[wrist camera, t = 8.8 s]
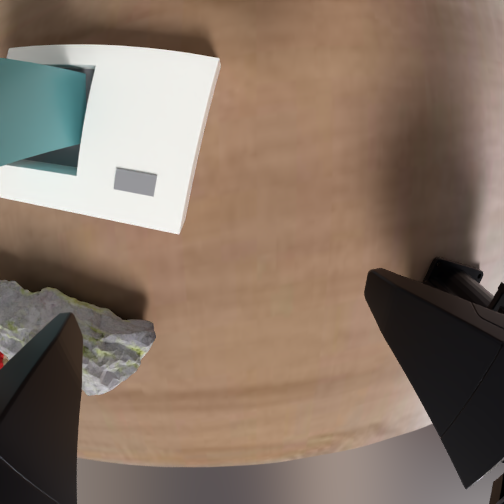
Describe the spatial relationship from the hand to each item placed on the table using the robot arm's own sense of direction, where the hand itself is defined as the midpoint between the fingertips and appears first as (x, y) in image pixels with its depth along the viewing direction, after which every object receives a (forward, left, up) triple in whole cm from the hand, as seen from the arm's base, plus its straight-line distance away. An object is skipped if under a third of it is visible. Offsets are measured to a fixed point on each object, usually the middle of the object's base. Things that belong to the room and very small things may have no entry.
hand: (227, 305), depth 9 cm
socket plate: (+10, -3, -12) cm, 16 cm away
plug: (+12, -4, -11) cm, 17 cm away
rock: (+11, +12, -12) cm, 20 cm away
